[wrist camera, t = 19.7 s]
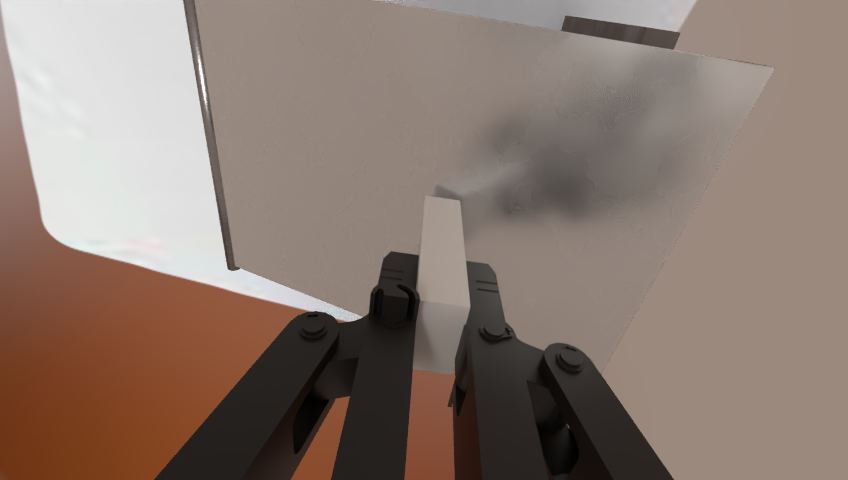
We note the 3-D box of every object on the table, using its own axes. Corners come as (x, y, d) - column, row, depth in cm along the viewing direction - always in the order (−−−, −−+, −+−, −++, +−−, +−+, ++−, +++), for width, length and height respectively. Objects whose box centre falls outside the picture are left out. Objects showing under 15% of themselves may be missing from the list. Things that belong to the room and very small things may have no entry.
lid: (187, -46, 16) (170, -49, 16) (775, 46, 11) (786, 47, 10) (234, 261, 25) (224, 267, 24) (580, 397, 20) (580, 410, 19)
